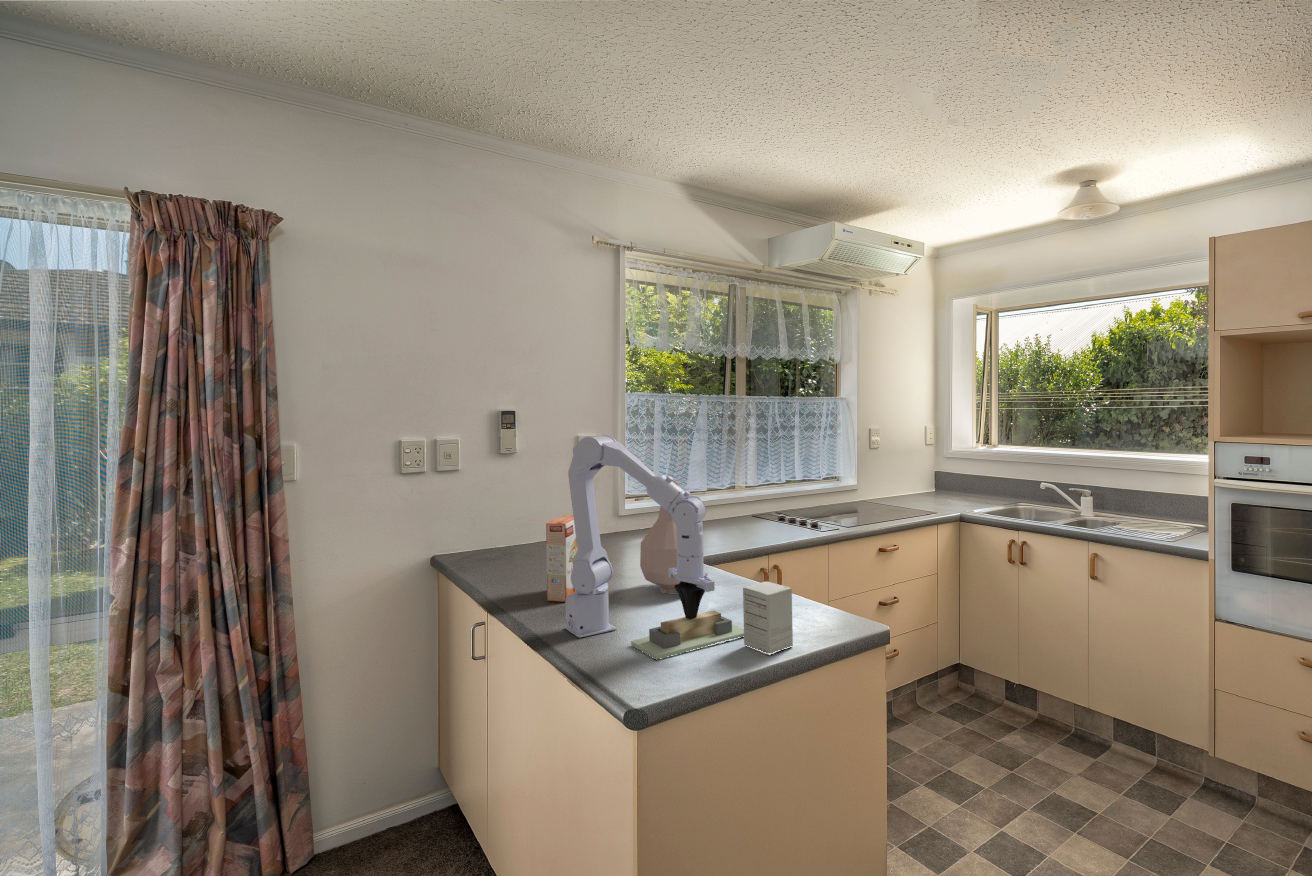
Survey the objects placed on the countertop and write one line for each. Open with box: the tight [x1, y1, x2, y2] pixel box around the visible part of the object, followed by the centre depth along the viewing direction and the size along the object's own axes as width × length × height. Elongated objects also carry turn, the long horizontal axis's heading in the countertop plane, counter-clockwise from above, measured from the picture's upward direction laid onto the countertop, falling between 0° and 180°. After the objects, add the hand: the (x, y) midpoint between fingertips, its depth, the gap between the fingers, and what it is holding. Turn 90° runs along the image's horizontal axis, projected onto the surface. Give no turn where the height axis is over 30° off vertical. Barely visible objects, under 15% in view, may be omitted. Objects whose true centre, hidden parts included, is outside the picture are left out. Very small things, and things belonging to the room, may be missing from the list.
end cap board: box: [630, 615, 744, 661], centre depth 136 cm, size 24×10×4 cm, turn 122°
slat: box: [660, 610, 722, 642], centre depth 136 cm, size 14×2×4 cm, turn 122°
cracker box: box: [545, 514, 577, 603], centre depth 172 cm, size 14×6×21 cm, turn 168°
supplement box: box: [742, 581, 794, 653], centre depth 131 cm, size 7×7×13 cm
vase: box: [639, 480, 680, 594], centre depth 174 cm, size 18×18×30 cm
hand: (691, 617), depth 136 cm, fingers closed
